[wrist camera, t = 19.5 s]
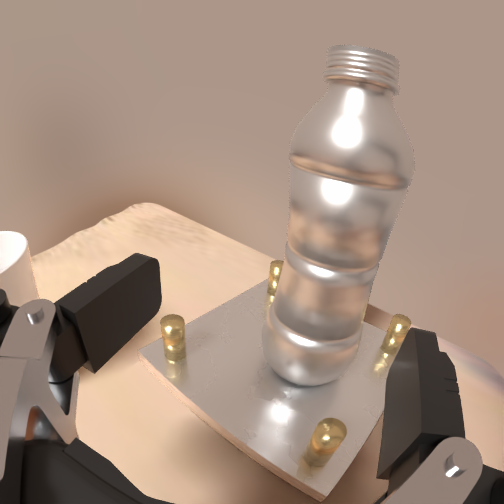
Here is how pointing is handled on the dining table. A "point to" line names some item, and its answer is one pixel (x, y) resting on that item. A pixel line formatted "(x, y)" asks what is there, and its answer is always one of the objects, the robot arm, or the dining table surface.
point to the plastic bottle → (338, 216)
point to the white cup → (16, 269)
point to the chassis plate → (274, 389)
